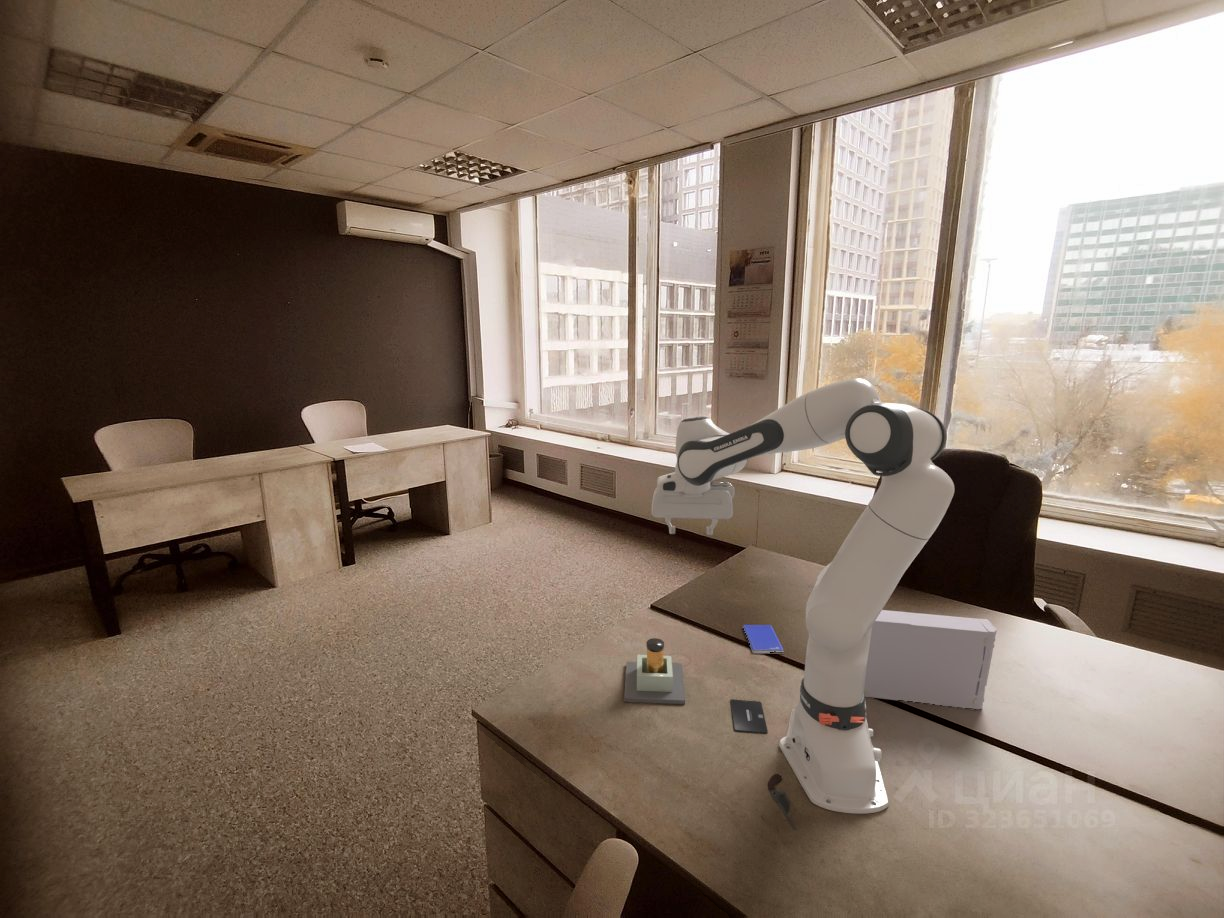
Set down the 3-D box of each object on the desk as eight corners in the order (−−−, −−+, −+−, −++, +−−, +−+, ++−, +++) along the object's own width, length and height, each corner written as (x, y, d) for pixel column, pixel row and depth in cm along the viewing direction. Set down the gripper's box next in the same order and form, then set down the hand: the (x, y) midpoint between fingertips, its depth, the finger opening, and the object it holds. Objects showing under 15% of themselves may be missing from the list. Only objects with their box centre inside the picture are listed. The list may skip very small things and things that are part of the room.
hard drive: (784, 649, 144) (771, 624, 156) (753, 649, 144) (742, 624, 156) (783, 655, 145) (771, 629, 157) (752, 655, 145) (742, 629, 157)
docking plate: (685, 704, 125) (685, 685, 124) (624, 701, 126) (624, 682, 125) (681, 667, 139) (682, 649, 138) (626, 665, 140) (626, 647, 139)
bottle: (663, 685, 130) (664, 648, 128) (646, 685, 130) (646, 647, 128) (663, 674, 134) (663, 638, 132) (646, 674, 135) (646, 638, 132)
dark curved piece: (760, 778, 105) (761, 775, 105) (779, 775, 106) (780, 772, 106) (800, 845, 92) (801, 842, 92) (821, 841, 93) (822, 838, 93)
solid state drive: (760, 704, 126) (761, 701, 126) (767, 735, 116) (768, 732, 116) (730, 701, 127) (730, 699, 127) (734, 732, 117) (734, 729, 117)
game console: (985, 712, 122) (1000, 633, 118) (856, 696, 128) (865, 620, 123) (974, 695, 128) (988, 619, 123) (850, 681, 133) (859, 607, 128)
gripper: (733, 478, 138) (730, 529, 141) (651, 477, 139) (651, 528, 142) (737, 485, 132) (734, 539, 135) (652, 484, 133) (651, 537, 136)
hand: (690, 533), depth 139 cm, fingers open, 8 cm apart
